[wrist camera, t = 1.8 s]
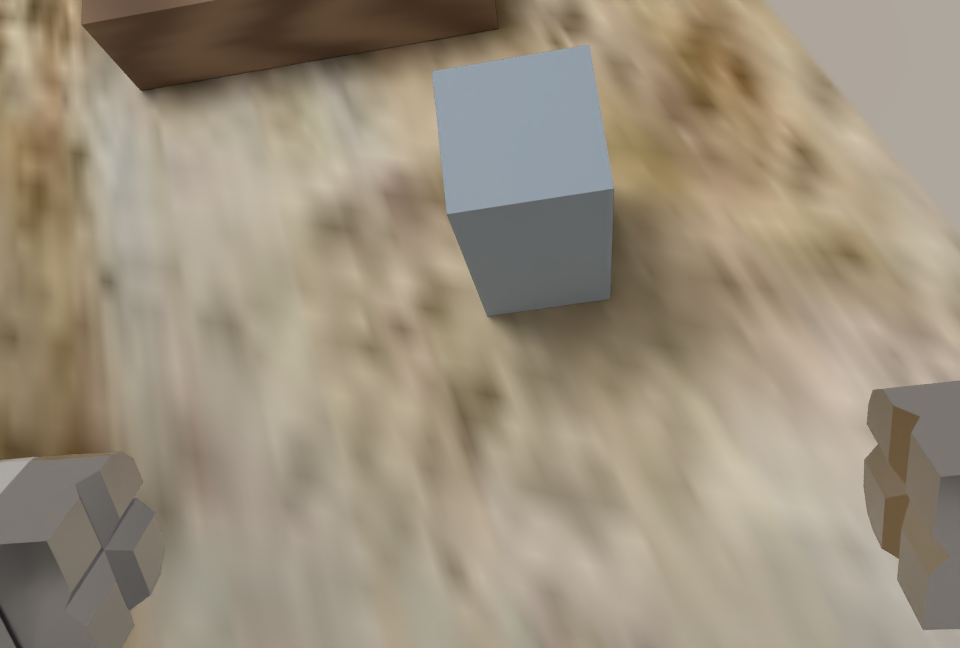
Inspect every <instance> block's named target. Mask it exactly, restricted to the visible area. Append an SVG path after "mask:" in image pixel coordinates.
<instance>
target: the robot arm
mask: <svg viewBox="0 0 960 648" xmlns="http://www.w3.org/2000/svg"><path fill="white" fill-rule="evenodd" d="M867 425H868V427H869V429H870V431H871V432H872V434H873V436H874V438H875V439H876V441H877V443H878V445H877V446H876V447H875V448H874V449H873V450H872V452H871V453H870V454H869V455H868V456H867V457H866V458H865V460H864V493H865V500H866V508H867V513H868V516H869V519H870V523H871V526H872V529H873V532H874V534H875V536H876V538H877V540H878V542H879V544H880V546H881V548H882V549H884V550H885V551H887V552H889V553H890V554H892V555H893V556H895V557H897V558H898V559H899V564H898V576H897V580H898V582H899V584H900V586H901V588H902V590H903V592H904V594H905V596H906V598H907V600H908V602H909V604H910V606H911V608H912V610H913V612H914V613H915V615H916V617H917V619H918V621H919V623H920V625H921V627H922V629H923V630H935V629H960V381H952V382H943V383H933V384H924V385H914V386H905V387H895V388H886V389H876V390H873V391H872V394H871V397H870V401H869V404H868V416H867ZM142 484H143V480H142V477H141V475H140V473H139V471H138V468H137V466H136V464H135V461H134V459H133V458H132V457H130V456H128V455H126V454H125V453H123V452H107V453H91V454H75V455H59V456H43V457H40V458H39V457H27V458H17V459H7V460H1V461H0V648H122V647H123V645H124V643H125V641H126V639H127V638H128V636H129V634H130V632H131V630H132V628H133V627H134V622H133V619H132V617H131V614H130V610H131V609H132V608H134V607H135V606H136V605H137V604H139V603H140V602H141V601H143V600H144V599H145V598H147V597H148V596H149V595H151V593H152V591H153V589H154V587H155V585H156V583H157V581H158V579H159V577H160V575H161V569H162V562H163V556H164V543H163V535H162V529H161V527H160V524H159V521H158V518H157V516H156V513H155V512H154V511H152V510H151V509H150V508H149V507H147V506H146V505H145V504H143V503H142V502H141V501H140V500H138V499H137V496H138V494H139V491H140V489H141V487H142Z"/></svg>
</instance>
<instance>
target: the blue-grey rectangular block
mask: <svg viewBox="0 0 960 648" xmlns="http://www.w3.org/2000/svg"><path fill="white" fill-rule="evenodd" d="M432 76H433V86H434V95H435V105H436V115H437V124H438V134H439V143H440V153H441V163H442V172H443V182H444V191H445V201H446V211H447V216H448V218H449V221H450V223H451V226H452V228H453V231H454V233H455V236H456V238H457V241H458V244H459V246H460V249H461V251H462V254H463V256H464V259H465V261H466V264H467V266H468V269H469V271H470V274H471V276H472V279H473V281H474V284H475V286H476V289H477V292H478V294H479V297H480V299H481V302H482V304H483V307H484V309H485V312H486V314H487V316H494V315H501V314H508V313H515V312H522V311H529V310H536V309H543V308H550V307H557V306H564V305H571V304H578V303H585V302H592V301H599V300H606V299H610V294H611V263H612V233H613V203H614V186H613V180H612V174H611V168H610V162H609V156H608V151H607V145H606V139H605V133H604V127H603V121H602V115H601V110H600V104H599V98H598V92H597V86H596V80H595V75H594V69H593V63H592V57H591V51H590V45H584V46H578V47H572V48H567V49H561V50H555V51H549V52H543V53H537V54H531V55H525V56H519V57H514V58H508V59H502V60H496V61H490V62H484V63H478V64H472V65H466V66H460V67H455V68H449V69H443V70H437V71H432Z"/></svg>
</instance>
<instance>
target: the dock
mask: <svg viewBox="0 0 960 648" xmlns="http://www.w3.org/2000/svg"><path fill="white" fill-rule="evenodd" d="M81 25H82V26H83V27H84V28H85V29H86V30H87V31H88V32H89V34H90V35H91V36H92V37H93V38H94V39H95V40H96V41H97V42H98V44H99V45H100V46H101V47H102V48H103V49H104V50H105V51H106V53H107V54H108V55H109V56H110V57H111V58H112V59H113V60H114V61H115V63H116V64H117V65H118V66H119V67H120V68H121V69H122V70H123V71H124V73H125V74H126V75H127V76H128V77H129V78H130V79H131V80H132V81H133V83H134V84H135V85H136V86H137V87H138V88H139V89H140V90H147V89H153V88H158V87H164V86H170V85H176V84H181V83H187V82H193V81H199V80H205V79H210V78H216V77H222V76H228V75H233V74H239V73H245V72H251V71H256V70H262V69H268V68H274V67H280V66H285V65H291V64H297V63H303V62H308V61H314V60H320V59H326V58H332V57H337V56H343V55H349V54H355V53H360V52H366V51H372V50H378V49H383V48H389V47H395V46H401V45H407V44H412V43H418V42H424V41H430V40H435V39H441V38H447V37H453V36H459V35H464V34H470V33H476V32H482V31H487V30H493V29H499V28H498V21H497V13H496V6H495V0H82V21H81Z"/></svg>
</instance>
